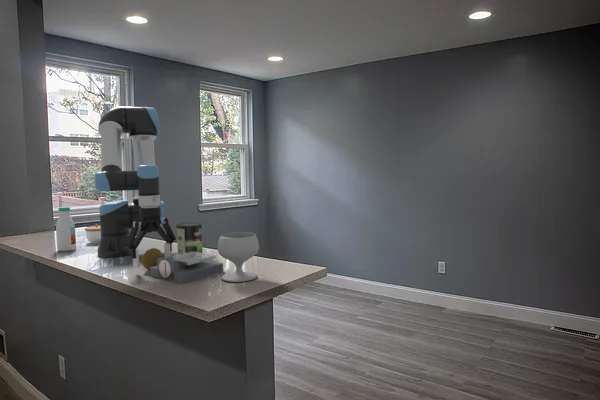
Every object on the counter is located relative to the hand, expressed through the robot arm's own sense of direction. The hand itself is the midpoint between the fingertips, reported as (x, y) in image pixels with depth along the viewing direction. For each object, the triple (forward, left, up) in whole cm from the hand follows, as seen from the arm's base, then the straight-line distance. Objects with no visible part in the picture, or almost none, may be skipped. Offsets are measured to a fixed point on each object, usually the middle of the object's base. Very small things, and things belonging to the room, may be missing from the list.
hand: (152, 263), depth 161 cm
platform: (+16, +5, +3) cm, 17 cm away
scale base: (+16, +3, -2) cm, 16 cm away
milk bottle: (-66, 0, -3) cm, 66 cm away
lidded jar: (-72, +18, -3) cm, 75 cm away
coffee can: (-4, +21, -3) cm, 22 cm away
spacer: (+10, +17, -2) cm, 20 cm away
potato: (0, 0, -3) cm, 3 cm away
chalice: (+36, +9, -3) cm, 37 cm away
